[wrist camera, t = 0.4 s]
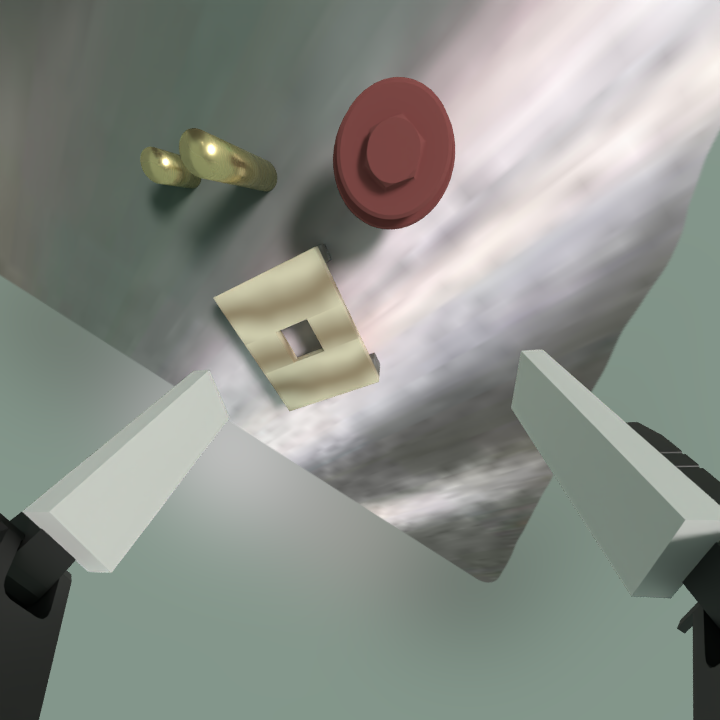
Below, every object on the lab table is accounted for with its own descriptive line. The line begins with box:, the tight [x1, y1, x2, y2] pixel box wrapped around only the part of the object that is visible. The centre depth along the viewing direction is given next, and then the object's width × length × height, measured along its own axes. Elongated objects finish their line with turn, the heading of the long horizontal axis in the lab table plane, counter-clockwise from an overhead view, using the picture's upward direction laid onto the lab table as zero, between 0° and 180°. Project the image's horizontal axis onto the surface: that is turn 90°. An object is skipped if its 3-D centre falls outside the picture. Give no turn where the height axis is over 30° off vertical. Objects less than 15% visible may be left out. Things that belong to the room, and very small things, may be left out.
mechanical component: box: [333, 77, 455, 229], centre depth 24 cm, size 12×10×10 cm
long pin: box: [179, 128, 277, 191], centre depth 26 cm, size 3×3×12 cm
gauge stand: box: [214, 244, 380, 411], centre depth 37 cm, size 18×14×5 cm
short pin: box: [140, 147, 201, 188], centre depth 29 cm, size 3×3×5 cm
